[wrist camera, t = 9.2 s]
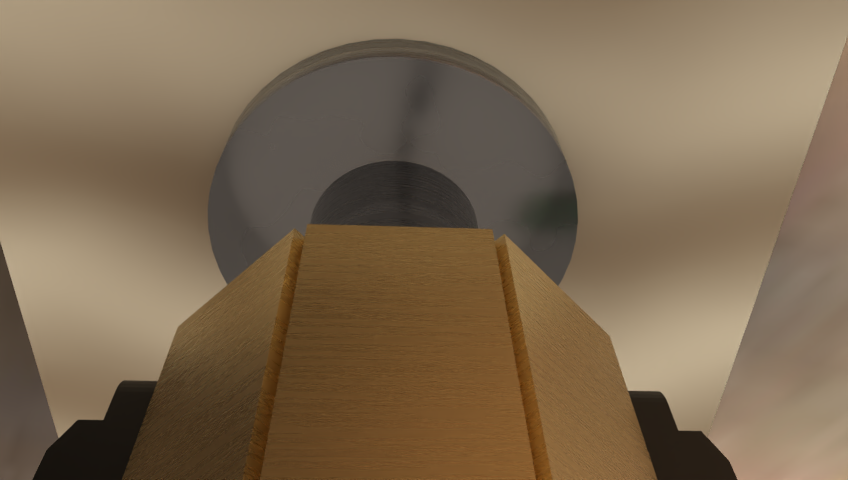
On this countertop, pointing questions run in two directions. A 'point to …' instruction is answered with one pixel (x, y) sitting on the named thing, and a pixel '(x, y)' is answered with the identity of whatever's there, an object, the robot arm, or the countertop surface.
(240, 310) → the collar
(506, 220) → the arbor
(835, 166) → the countertop surface
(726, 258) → the board
